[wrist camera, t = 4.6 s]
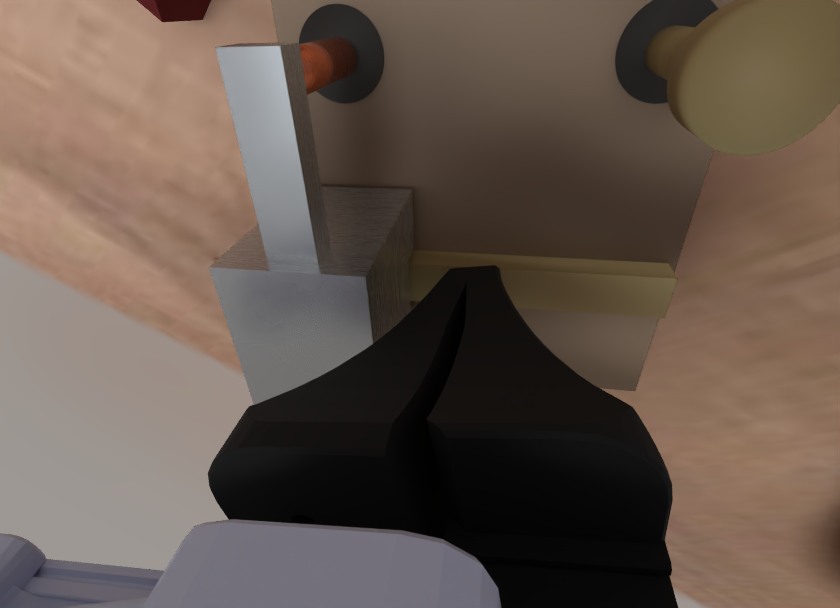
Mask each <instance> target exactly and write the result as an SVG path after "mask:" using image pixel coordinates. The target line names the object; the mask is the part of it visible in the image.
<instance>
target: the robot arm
mask: <svg viewBox="0 0 840 608" xmlns="http://www.w3.org/2000/svg"><path fill="white" fill-rule="evenodd" d="M208 477H209V486H210V489H211V491H212V493H213V495H214V497H215V499H216V501H217V503H218V504H219V506H220V507H221V509H222V510H223V511H224V513H225V515H226V516H227V517H228V519H229V520H223V521H216V522H208V523H203V524H200V525H197V526H194V528H193V529H192V530H191V531H190V532H189V534H188V535H187V536H186V538H185V539H184V540H183V541H182V543H181V544H180V546H179V548H178V549H177V551H176V553H175V554H174V556H173V558H172V559H171V561H170V562H169V564H168V566H167V568H166V569H165V571H160V570H151V569H140V568H131V567H121V566H111V565H101V564H91V563H81V562H72V561H62V560H51V559H46V558H45V555H44V554H43V552H41V550H40V549H38V548H37V547H36V546H35V545H34V544H32V543H31V542H30V541H28V540H26V539H24V538H22V537H19V536H16V535H11V534H0V608H678V605H677V602H676V598H675V595H674V591H673V587H672V584H671V580H670V576H669V575H671V572H672V567H671V561H670V558H669V554H668V550H667V547H666V543H665V535H666V530H667V525H668V520H669V515H670V510H671V505H672V500H673V499H672V483H671V480H670V477H669V474H668V471H667V468H666V466H665V464H664V461H663V459H662V457H661V455H660V453H659V451H658V449H657V447H656V445H655V443H654V441H653V439H652V438H651V436H650V434H649V432H648V430H647V429H646V427H645V425H644V424H643V422H642V421H641V419H640V417H639V416H638V414H637V413H636V411H635V410H634V408H633V407H631V406H630V405H628V404H627V403H625V402H623V401H621V400H619V399H618V398H616V397H614V396H612V395H610V394H609V393H607V392H605V391H603V390H602V389H600V388H598V387H596V386H595V385H593V384H591V383H590V382H589V381H587V380H586V379H584V378H583V377H581V376H580V375H578V374H577V373H576V372H575V371H573V370H572V369H571V368H570V367H569V366H567V365H566V364H565V363H564V362H563V361H561V360H560V359H559V358H558V357H557V356H555V355H554V354H553V353H552V352H551V351H550V350H549V349H548V348H547V347H546V346H545V345H544V344H543V343H542V341H541V340H540V339H539V338H538V337H537V336H536V335H535V334H534V332H533V331H532V330H531V329H530V327H529V326H528V325H527V324H526V322H525V321H524V319H523V318H522V317H521V315H520V314H519V312H518V311H517V309H516V308H515V306H514V304H513V302H512V301H511V299H510V297H509V295H508V293H507V291H506V289H505V287H504V285H503V282H502V279H501V273H500V268H498V267H497V266H496V265H489V266H475V267H462V268H450V269H449V270H448V271H447V272H446V274H445V275H444V276H443V277H442V278H441V279H440V280H439V281H438V283H437V284H436V285H435V286H434V287H433V288H432V289H431V291H430V292H429V293H428V294H427V295H426V296H425V297H424V298H423V299H422V300H421V302H420V303H419V304H418V305H417V306H416V307H415V308H414V309H413V310H412V311H411V312H410V313H408V314H407V315H406V316H405V317H404V318H403V319H402V320H401V321H400V322H399V323H398V324H397V325H396V326H395V327H393V328H392V329H391V330H390V331H389V332H387V333H386V334H385V335H384V336H382V337H381V338H380V339H378V340H377V341H376V342H374V343H373V344H372V345H370V346H369V347H368V348H366V349H365V350H363V351H362V352H360V353H358V354H357V355H355V356H354V357H352V358H350V359H349V360H347V361H346V362H344V363H342V364H341V365H339V366H338V367H336V368H334V369H332V370H330V371H329V372H327V373H325V374H323V375H321V376H319V377H317V378H315V379H313V380H311V381H309V382H307V383H305V384H303V385H301V386H299V387H296V388H294V389H292V390H290V391H287V392H285V393H282V394H280V395H277V396H275V397H272V398H270V399H268V400H265V401H263V402H260V403H258V404H255V405H252V406H249V408H248V409H247V410H246V411H245V413H244V414H243V416H242V417H241V419H240V420H239V422H238V423H237V425H236V427H235V428H234V430H233V431H232V433H231V435H230V436H229V438H228V439H227V440H226V442H225V444H224V445H223V447H222V448H221V450H220V451H219V453H218V454H217V456H216V457H215V459H214V461H213V462H212V464H211V467H210V469H209V472H208Z"/></svg>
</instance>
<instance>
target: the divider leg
mask: <svg viewBox="0 0 840 608" xmlns="http://www.w3.org/2000/svg"><path fill="white" fill-rule="evenodd" d="M215 48H216V52H217V57H218V61H219V65H220V69H221V73H222V77H223V81H224V85H225V89H226V93H227V97H228V101H229V106H230V110H231V114H232V118H233V122H234V126H235V130H236V134H237V138H238V142H239V146H240V151H241V155H242V159H243V163H244V167H245V171H246V175H247V179H248V183H249V187H250V191H251V196H252V200H253V204H254V208H255V212H256V216H257V220H258V225H256V226H255V227H254V228H253V229H252V230H251V231H250V232H248V233H247V234H246V235H245V236H244V237H243V238H242V239H240V240H239V241H238V242H237V243H236V244H235V245H234V246H232V247H231V248H230V249H229V250H228V251H227V252H226V253H224V254H223V255H222V256H221V257H220V258H219V259H218V260H216V261H215V262H214V263H213V264H212V265H211V266H210V267H209V270H210V273H211V276H212V279H213V282H214V285H215V288H216V291H217V294H218V297H219V300H220V303H221V306H222V309H223V312H224V315H225V318H226V321H227V324H228V327H229V330H230V333H231V336H232V339H233V342H234V345H235V348H236V352H237V355H238V358H239V361H240V364H241V367H242V370H243V373H244V376H245V379H246V382H247V385H248V388H249V391H250V394H251V397H252V400H253V403H254V405H255V404H258V403H260V402H263V401H265V400H268V399H270V398H272V397H275V396H277V395H280V394H282V393H285V392H287V391H290V390H292V389H294V388H296V387H299V386H301V385H303V384H305V383H307V382H309V381H311V380H313V379H315V378H317V377H319V376H321V375H323V374H325V373H327V372H329V371H330V370H332V369H334V368H336V367H338V366H339V365H341V364H342V363H344V362H346V361H347V360H349V359H350V358H352V357H354V356H355V355H357V354H358V353H360V352H362V351H363V350H365V349H366V348H368V347H369V346H370V345H372V344H373V343H374V342H376V341H377V340H378V339H380V338H381V337H382V336H384V335H385V334H386V333H387V332H389V331H390V330H391V329H392V328H393V327H395V326H396V325H397V324H398V323H399V322H400V321H401V320H402V319H403V318H404V317H405V316H406V315H407V314H408V313H410V312H411V311H412V310H413V309H414V308H415V307H416V306H417V301H410V285H409V264H408V260H409V258H410V255H411V253H412V250H413V248H414V220H413V195H412V189H392V188H359V187H326V186H321V181H320V174H319V168H318V161H317V155H316V148H315V142H314V135H313V129H312V122H311V116H310V109H309V103H308V96H307V95H308V94H310V93H312V92H315V91H317V90H319V89H321V88H323V87H326V86H328V85H330V84H332V83H334V82H337V81H339V80H341V79H343V78H345V77H348V76H349V75H350V74H351V73H352V72H353V71H354V69H355V66H356V54H355V51H354V49H353V47H352V45H351V44H350V43H349V42H348V41H347V40H345V39H343V38H340V37H333V38H328V39H323V40H318V41H313V42H308V43H303V44H299V42H291V43H246V44H234V45H227V46H221V47H215Z"/></svg>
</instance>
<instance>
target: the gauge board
mask: <svg viewBox="0 0 840 608" xmlns="http://www.w3.org/2000/svg"><path fill="white" fill-rule="evenodd" d="M271 3H272V9H273V14H274V20H275V26H276V32H277V37H278V43H291V42H299V44H303V43H308V42H313V41H318V40H323V39H328V38H333V37H340V38H343V39H345V40H347V41H348V42H349V43H350V44H351V45H352V47H353V49H354V51H355V54H356V66H355V69H354V71H353V72H352V73H351V74H350V75H349V76H348V77H345V78H343V79H341V80H339V81H337V82H334V83H332V84H330V85H328V86H326V87H323V88H321V89H319V90H317V91H315V92H312V93H310V94H308V95H307V96H308V103H309V109H310V116H311V122H312V129H313V135H314V142H315V148H316V155H317V161H318V168H319V174H320V181H321V186H326V187H359V188H392V189H412V195H413V220H414V248H413V250H412V253H411V255H410V258H409V260H408V264H409V285H410V301H417V305H418V304H419V303H420V302H421V300H422V299H423V298H424V297H425V296H426V295H427V294H428V293H429V292H430V291H431V289H432V288H433V287H434V286H435V285H436V284H437V283H438V281H439V280H440V279H441V278H442V277H443V276H444V275H445V274H446V272H447V271H448V270H449V269H450V268H462V267H475V266H489V265H496V266H497V267H498V268H500V273H501V279H502V282H503V285H504V287H505V289H506V291H507V293H508V295H509V297H510V299H511V301H512V302H513V304H514V306H515V308H516V309H517V311H518V312H519V314H520V315H521V317H522V318H523V319H524V321H525V322H526V324H527V325H528V326H529V327H530V329H531V330H532V331H533V332H534V334H535V335H536V336H537V337H538V338H539V339H540V340H541V341H542V343H543V344H544V345H545V346H546V347H547V348H548V349H549V350H550V351H551V352H552V353H553V354H554V355H555V356H557V357H558V358H559V359H560V360H561V361H563V362H564V363H565V364H566V365H567V366H569V367H570V368H571V369H572V370H573V371H575V372H576V373H577V374H578V375H580V376H581V377H583V378H584V379H586V380H587V381H589V382H590V383H591V384H593V385H595V386H596V387H598V388H607V389H617V390H628V391H635V390H636V387H637V384H638V381H639V377H640V374H641V371H642V368H643V365H644V362H645V359H646V356H647V353H648V350H649V347H650V344H651V341H652V338H653V335H654V332H655V329H656V326H657V322H658V319H659V318H665V315H666V312H667V309H668V306H669V303H670V300H671V297H672V294H673V291H674V288H675V285H676V282H677V279H678V278H677V277H676V275H675V273H674V270H675V267H676V264H677V261H678V258H679V255H680V252H681V249H682V246H683V243H684V240H685V237H686V234H687V231H688V228H689V225H690V222H691V219H692V215H693V212H694V209H695V206H696V203H697V200H698V197H699V194H700V191H701V188H702V185H703V182H704V179H705V176H706V173H707V170H708V167H709V163H710V160H711V157H712V154H713V151H714V149H715V150H717V151H720V152H722V153H726V154H730V155H737V156H752V155H759V154H764V153H768V152H772V151H775V150H777V149H780V148H783V147H785V146H787V145H789V144H791V143H793V142H795V141H797V140H798V139H800V138H802V137H803V136H805V135H806V134H808V133H809V132H810V131H812V130H813V129H814V128H816V127H817V126H818V125H819V124H820V123H821V122H822V121H824V119H825V118H826V117H827V116H828V115H829V114H830V113H831V112H832V111H833V110H834V109H835V107H836V106H837V105H838V104H839V102H840V5H838V4H837V3H835V2H834V1H832V0H271Z"/></svg>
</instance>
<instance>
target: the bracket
mask: <svg viewBox="0 0 840 608" xmlns="http://www.w3.org/2000/svg"><path fill="white" fill-rule="evenodd" d="M137 1H138V2H139V3H140V4H142V5H143V6H144V7H145V8H146V9H148V10H149V11H150V12H151V13H152V14H153V15H155V16H156V17H157V18H158V19H159V20H161V21H162V22H174V21H190V20H203V18H204V15H205V13H206V11H207V8H208V6H209V3H210V1H211V0H137Z"/></svg>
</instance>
